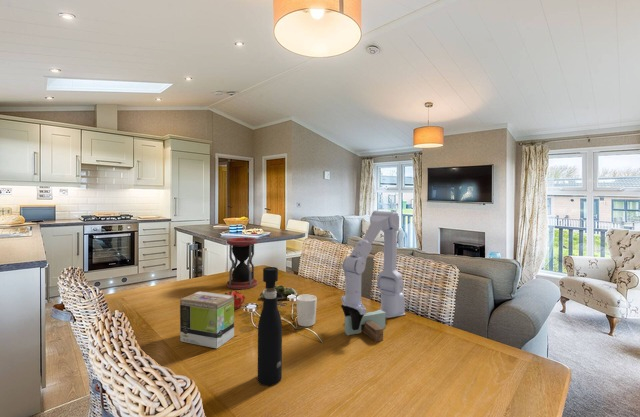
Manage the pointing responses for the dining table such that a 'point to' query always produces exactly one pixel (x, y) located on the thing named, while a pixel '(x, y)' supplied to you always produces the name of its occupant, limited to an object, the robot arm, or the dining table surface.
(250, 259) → the hourglass
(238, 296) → the dragon fruit
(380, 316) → the pale green flat block
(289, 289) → the salad plate
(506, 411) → the dining table surface
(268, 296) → the black water bottle
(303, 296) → the white cup
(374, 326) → the walnut rail
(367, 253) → the robot arm
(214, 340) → the tea box
